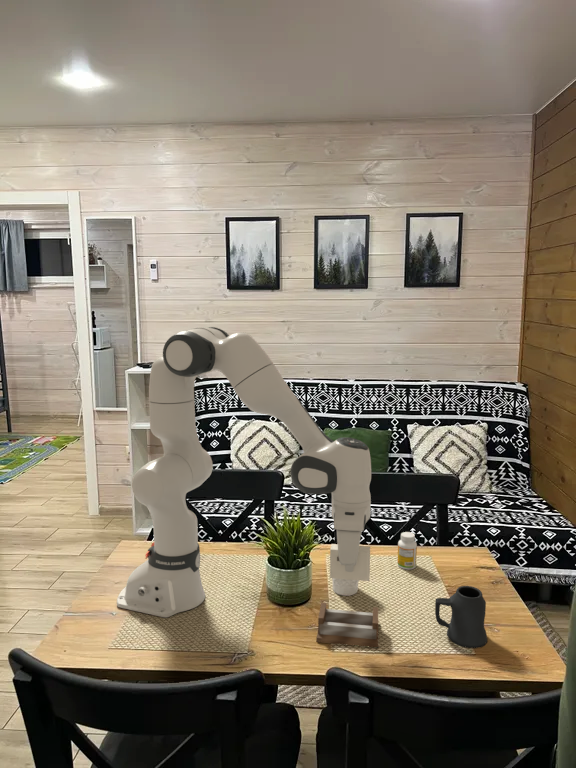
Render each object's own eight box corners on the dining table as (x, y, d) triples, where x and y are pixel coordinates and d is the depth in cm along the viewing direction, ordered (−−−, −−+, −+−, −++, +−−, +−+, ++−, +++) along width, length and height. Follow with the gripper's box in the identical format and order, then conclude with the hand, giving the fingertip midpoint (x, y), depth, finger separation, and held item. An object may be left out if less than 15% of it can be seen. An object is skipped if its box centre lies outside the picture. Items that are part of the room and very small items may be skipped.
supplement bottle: (404, 559, 174) (405, 529, 172) (419, 566, 170) (421, 534, 168) (393, 565, 170) (394, 534, 169) (408, 571, 166) (410, 540, 165)
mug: (484, 627, 138) (486, 583, 137) (490, 650, 130) (493, 603, 128) (432, 622, 141) (434, 579, 139) (435, 644, 132) (437, 598, 130)
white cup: (358, 598, 151) (359, 562, 150) (328, 595, 153) (329, 559, 152) (360, 584, 159) (361, 549, 158) (332, 581, 161) (333, 547, 159)
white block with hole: (369, 574, 135) (370, 546, 134) (369, 582, 131) (369, 553, 130) (331, 572, 136) (331, 544, 135) (329, 579, 133) (330, 550, 132)
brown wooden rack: (316, 641, 132) (316, 621, 132) (320, 618, 142) (321, 599, 141) (378, 647, 130) (378, 627, 130) (378, 623, 140) (379, 604, 139)
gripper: (340, 493, 142) (339, 546, 144) (333, 525, 122) (332, 586, 124) (366, 494, 141) (365, 547, 143) (363, 527, 121) (362, 588, 123)
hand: (350, 566), depth 134 cm, fingers closed on white block with hole, 3 cm apart
